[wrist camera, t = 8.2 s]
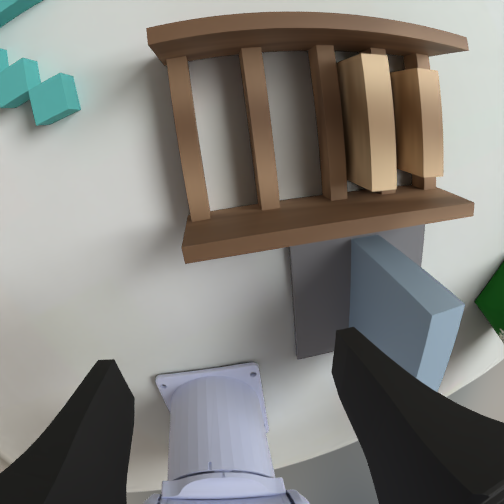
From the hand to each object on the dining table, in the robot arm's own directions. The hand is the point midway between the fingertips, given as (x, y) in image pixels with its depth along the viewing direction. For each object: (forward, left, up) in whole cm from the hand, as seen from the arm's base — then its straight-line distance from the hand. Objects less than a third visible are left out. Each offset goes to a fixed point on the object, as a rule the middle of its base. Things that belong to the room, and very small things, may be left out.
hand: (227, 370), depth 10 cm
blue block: (-5, -9, -10) cm, 15 cm away
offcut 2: (+7, -12, -11) cm, 17 cm away
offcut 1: (+7, -9, -11) cm, 15 cm away
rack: (+7, -6, -11) cm, 14 cm away
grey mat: (-5, -9, -11) cm, 15 cm away
